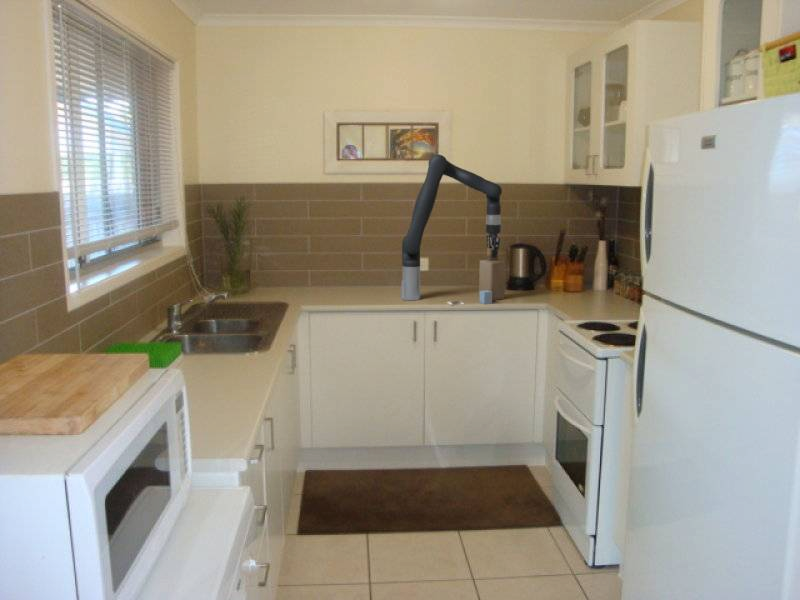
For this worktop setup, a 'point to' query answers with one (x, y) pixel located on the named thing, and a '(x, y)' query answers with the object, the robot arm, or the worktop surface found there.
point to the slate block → (485, 297)
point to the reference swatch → (455, 303)
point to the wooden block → (492, 278)
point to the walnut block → (489, 255)
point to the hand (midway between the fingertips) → (492, 256)
